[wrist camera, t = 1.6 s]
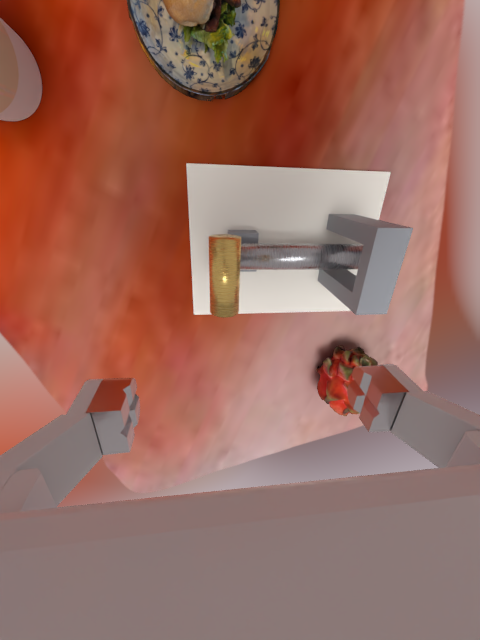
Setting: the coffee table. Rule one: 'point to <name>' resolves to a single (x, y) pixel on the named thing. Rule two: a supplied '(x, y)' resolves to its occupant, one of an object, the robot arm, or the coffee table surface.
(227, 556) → the robot arm
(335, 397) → the dragon fruit
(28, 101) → the coffee cup
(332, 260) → the hook
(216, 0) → the burger
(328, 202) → the board
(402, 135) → the coffee table surface
